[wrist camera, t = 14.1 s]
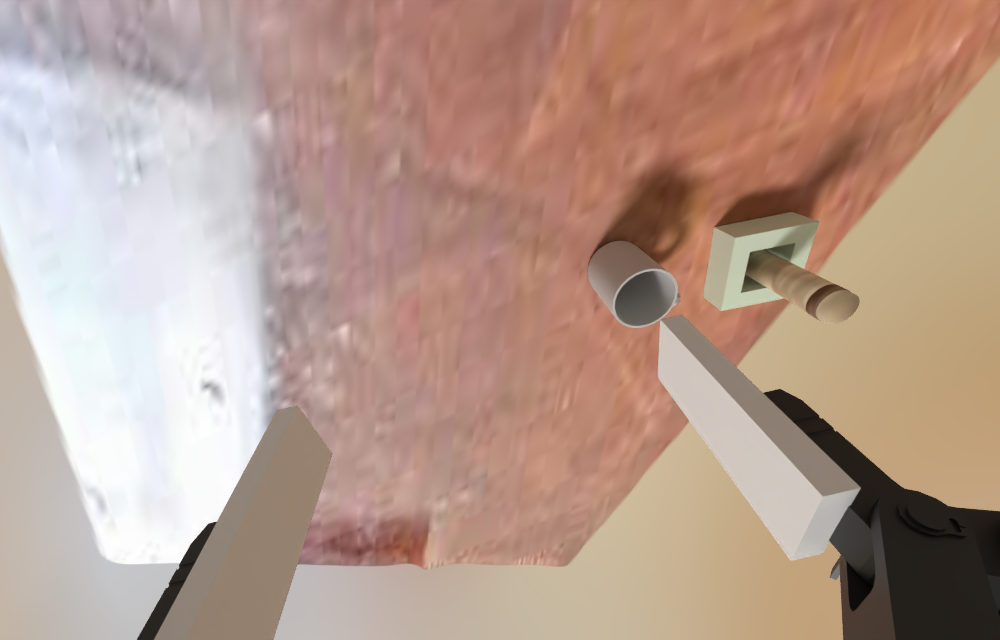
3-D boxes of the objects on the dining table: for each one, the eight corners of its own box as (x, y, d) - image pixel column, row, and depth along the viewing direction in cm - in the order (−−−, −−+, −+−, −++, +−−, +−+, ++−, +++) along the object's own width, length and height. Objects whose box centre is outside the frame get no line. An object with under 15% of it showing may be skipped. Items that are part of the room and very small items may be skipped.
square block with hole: (714, 227, 46) (735, 238, 42) (791, 211, 46) (819, 221, 42) (702, 296, 51) (721, 311, 48) (772, 282, 51) (795, 295, 48)
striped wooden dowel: (733, 246, 47) (828, 297, 36) (761, 240, 47) (865, 289, 36) (728, 271, 49) (817, 328, 38) (755, 266, 49) (852, 321, 38)
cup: (600, 232, 44) (631, 261, 37) (669, 252, 47) (712, 282, 39) (576, 285, 48) (601, 321, 40) (642, 300, 50) (677, 337, 43)
